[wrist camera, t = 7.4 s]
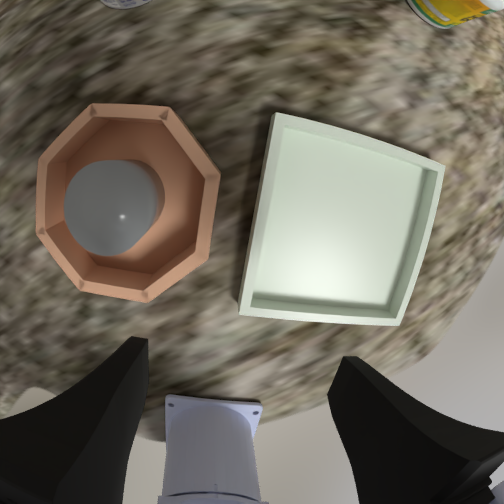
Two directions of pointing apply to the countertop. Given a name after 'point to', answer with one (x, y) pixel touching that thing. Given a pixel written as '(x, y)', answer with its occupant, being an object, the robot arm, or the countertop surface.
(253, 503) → the robot arm
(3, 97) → the countertop surface
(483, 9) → the supplement bottle
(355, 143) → the parts tray
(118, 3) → the energy drink
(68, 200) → the grey cylinder
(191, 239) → the bowl
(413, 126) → the countertop surface
